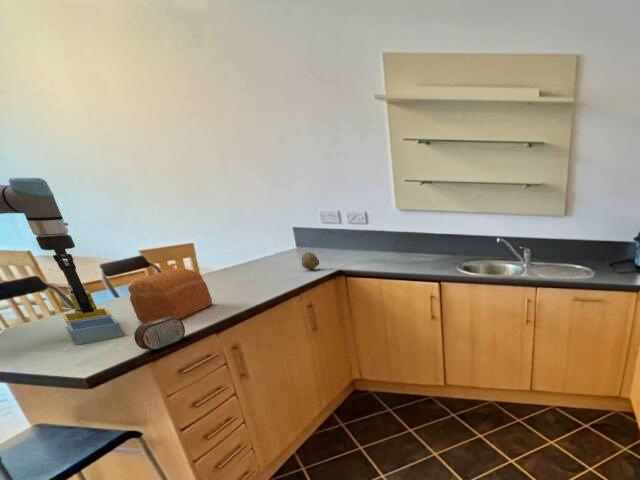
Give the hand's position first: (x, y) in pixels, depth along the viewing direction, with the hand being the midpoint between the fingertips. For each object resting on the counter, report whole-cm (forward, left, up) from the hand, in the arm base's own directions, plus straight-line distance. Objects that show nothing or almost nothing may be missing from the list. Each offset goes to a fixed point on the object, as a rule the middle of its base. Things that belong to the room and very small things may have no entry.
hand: (87, 310), depth 134 cm
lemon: (-14, 0, -8) cm, 16 cm away
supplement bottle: (0, 0, -1) cm, 1 cm away
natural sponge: (-57, +99, -9) cm, 115 cm away
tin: (+26, +13, -9) cm, 30 cm away
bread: (-12, +25, -9) cm, 29 cm away
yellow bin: (-14, 0, -9) cm, 16 cm away
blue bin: (0, 0, -9) cm, 9 cm away
